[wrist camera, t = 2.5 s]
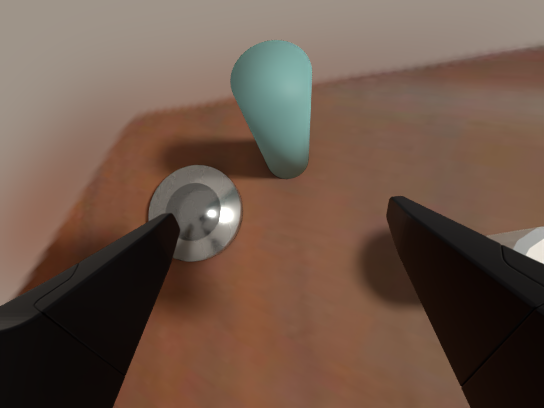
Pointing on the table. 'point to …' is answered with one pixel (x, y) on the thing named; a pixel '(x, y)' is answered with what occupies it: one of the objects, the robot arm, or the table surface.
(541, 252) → the white candle cup
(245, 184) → the table surface
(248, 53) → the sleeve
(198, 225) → the hub disc
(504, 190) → the table surface
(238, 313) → the table surface
